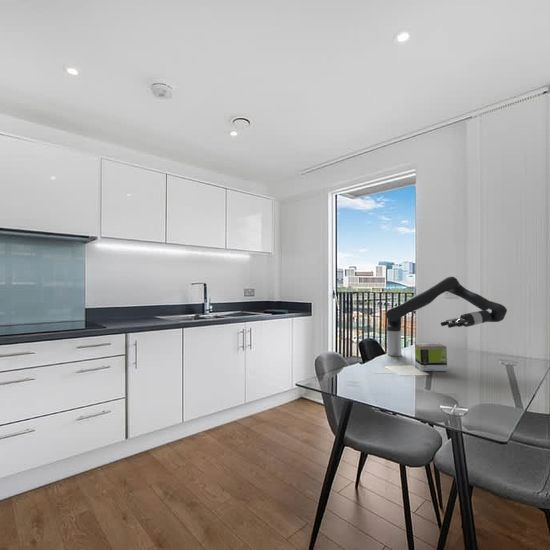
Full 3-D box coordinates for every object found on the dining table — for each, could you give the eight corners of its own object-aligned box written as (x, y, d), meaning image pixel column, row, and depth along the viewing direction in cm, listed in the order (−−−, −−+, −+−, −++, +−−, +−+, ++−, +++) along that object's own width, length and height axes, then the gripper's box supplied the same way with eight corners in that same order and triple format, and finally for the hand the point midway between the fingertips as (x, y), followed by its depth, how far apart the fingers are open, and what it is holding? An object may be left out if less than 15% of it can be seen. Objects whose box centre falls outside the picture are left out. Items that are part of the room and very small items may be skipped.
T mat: (364, 368, 203) (364, 367, 203) (411, 365, 206) (411, 365, 206) (378, 377, 183) (378, 377, 183) (429, 375, 186) (429, 374, 186)
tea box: (440, 366, 201) (440, 342, 201) (447, 371, 191) (447, 346, 191) (415, 366, 203) (414, 342, 203) (420, 371, 193) (420, 345, 193)
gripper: (463, 312, 204) (437, 317, 204) (476, 313, 190) (449, 320, 190) (466, 324, 204) (440, 329, 204) (480, 326, 189) (452, 332, 190)
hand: (444, 325), depth 197 cm, fingers open, 8 cm apart
